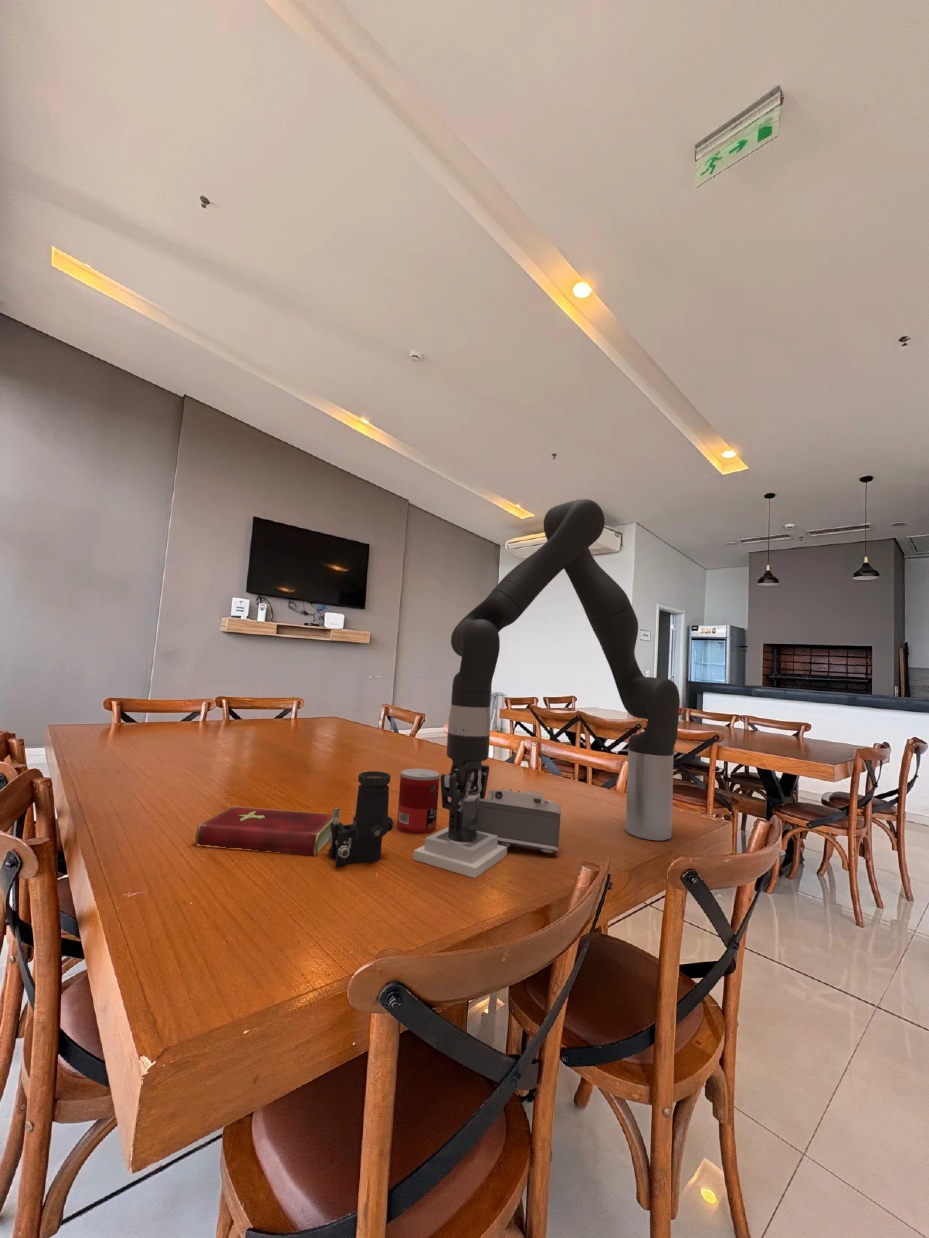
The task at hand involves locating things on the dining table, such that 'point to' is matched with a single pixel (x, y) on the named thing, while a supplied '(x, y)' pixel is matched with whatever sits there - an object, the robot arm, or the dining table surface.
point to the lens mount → (461, 853)
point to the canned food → (418, 800)
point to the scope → (363, 823)
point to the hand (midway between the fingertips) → (462, 828)
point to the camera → (520, 819)
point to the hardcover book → (267, 830)
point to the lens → (468, 818)
